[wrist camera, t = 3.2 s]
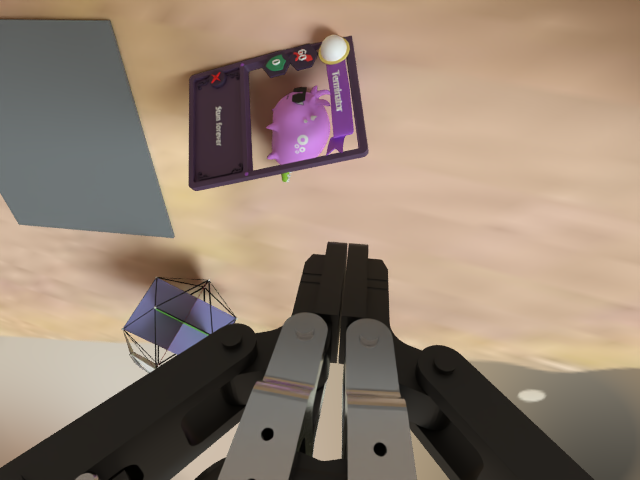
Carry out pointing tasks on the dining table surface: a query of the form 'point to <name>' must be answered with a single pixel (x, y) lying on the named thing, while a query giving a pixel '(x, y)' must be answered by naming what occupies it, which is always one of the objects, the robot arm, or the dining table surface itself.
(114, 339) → the dining table surface
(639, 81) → the dining table surface
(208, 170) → the game card
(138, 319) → the geometric puzzle
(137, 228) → the mat
